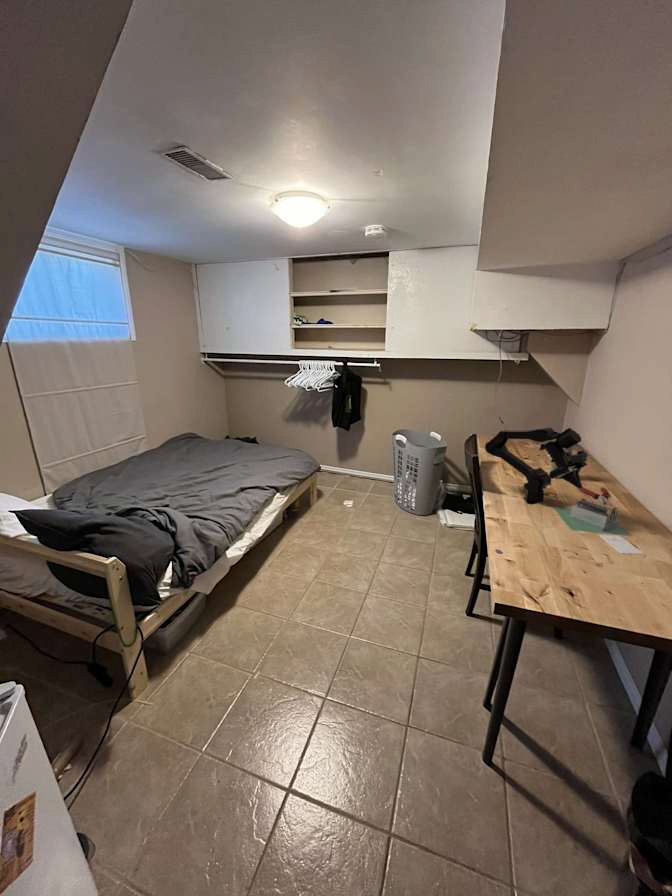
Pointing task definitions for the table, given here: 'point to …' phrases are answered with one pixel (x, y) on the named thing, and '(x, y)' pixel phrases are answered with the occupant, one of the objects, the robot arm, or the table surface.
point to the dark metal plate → (595, 506)
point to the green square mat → (578, 526)
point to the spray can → (555, 464)
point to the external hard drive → (621, 544)
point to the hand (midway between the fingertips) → (580, 488)
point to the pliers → (597, 495)
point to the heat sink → (593, 516)
